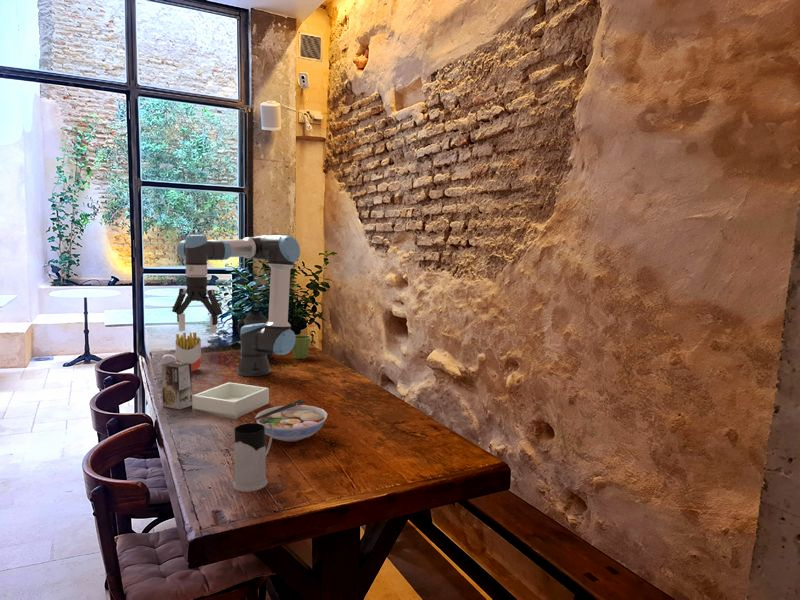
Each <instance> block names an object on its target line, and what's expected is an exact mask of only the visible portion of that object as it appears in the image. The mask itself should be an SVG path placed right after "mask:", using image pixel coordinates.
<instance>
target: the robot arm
mask: <svg viewBox="0 0 800 600" xmlns="http://www.w3.org/2000/svg"><path fill="white" fill-rule="evenodd" d="M176 248H177V249H176V250H177V254H178V256H179V257H180V258H182V259H185V275H186V277H185V286H186V288H185V287H183V288H181V287H180V288H179V289H178V294H177V298H176V300H175V302H174V305H173V308H172V309H171V311H172V312H173V313H176V322H177V323H178V332H184V331H186V313H185V311H186V309H187V308H188V307H189V305H190V304H191V303H192V302H195V301H196V302H200V303H202V304H203V305H204V307H205V308H206V310H207V311H208V313H209V314H210V316H209V334H210V335H213V334H217V325H218V324H219V323H218V317H219V316H220V315H223V310H222V308H221V306H220V303H219V302H218V299H217V297H216V292H215V289H207V288H208V287H207V286H208V277H207V276H208V261H210V260H211V261H224V260H225V261H226V260H229V259H230V258H238V257H240V258H241V257H243V258H245V259H249V260H250V259H255V260H262V261H267V265H268V267H269V268H270V281H269V283H270V284H269V304H268V322H267V323H266V324H265V323H259V324H250V325H245V324H244V326H243V327H242V328H241V334H239V336H240V352H241V355H240V359H239V363H238V365H237V370H236V371H237V375H239V376H241V377H260V376H266V375H269V374H271V369H272V368H271V365H270V361H269V360H268V359H267V353H272V355H276V356H279V355H282V356H283V355H284V356H285V355H287V354H289V353H290V352H291V351H292V349H293V347H294V344H295V339H296V337H295V335H296V334H295V331H293V330H292V329H291V327H292V325H291V323H290V322H289V321H288V320H289V302H290V284H291V283H290V280H291V269H292V268H294V266H295V262H297V261H298V260H299V258H300V255H301V247H300V244H299V242H298V240H297V239H296V238H295V237H294V236H291V235H285V234H284V235H279V234H278V235H276V234H275V235H272V234H271V235H269V234H266V235H259V236H247V237H243V238H242V239H207V236H206V235H205V234H187V235H186V236H185V239H183V240H180V242H179V243H178V245H177V247H176ZM184 299H185V300H184Z"/></svg>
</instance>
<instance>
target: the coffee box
mask: <svg viewBox="0 0 800 600" xmlns="http://www.w3.org/2000/svg"><path fill="white" fill-rule="evenodd" d="M175 361H176V360H175ZM175 361H170V362H166V363H163V364H162V365H161V366H160V369H161V371H160V372H161V388H162V389H161V392H162V407H166V408H170V409H176V410H183V409H185V408H188V407H193V406H192V395H193V389H192V388H193V385H192V371H191V364H189V363H182V362H175Z"/></svg>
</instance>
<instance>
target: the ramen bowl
mask: <svg viewBox="0 0 800 600" xmlns="http://www.w3.org/2000/svg"><path fill="white" fill-rule="evenodd" d="M305 403H306V400H302V399H297V400H295V401H292V402H291V403H288V404H286V405H278V406H273V407H270V408H266V409H264V410H262V411H260V412H258V413H257V414H256V415H255V417H254V418H252V419H250V420H248V421H247V423H251V422H252V423H253V422H254V421H256V423H258V424H262V425H265V424H266V423H270V424H272V427H273V436H272V439H274V440H278V441H282V442H286V443H293V442H299V441H302V440H304V439H306V438H310V437H311V436H313V435H314V434H316V433H317V432H319V431H320V429H321V428H322V427H323V426H324V425H325V422H326V420H327V418H328V414H329V413H328V412H326V410H324V409H323V408H320V407H317V406H312V405H306V404H305ZM265 435H267V436H268V437H270V425H269V424H268V425H267V426H266V428H265Z"/></svg>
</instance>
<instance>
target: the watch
mask: <svg viewBox="0 0 800 600" xmlns="http://www.w3.org/2000/svg"><path fill="white" fill-rule="evenodd" d="M167 357H171V358H173V359H174V360H175V362H177V361H176V356H174V355H173V354H164V355H161V357H160V358H159V361H158V363H156V364H157V365H156V366H158V367H157V368H158V370H159V371H160V372H161V365H163V364H164V362H165V360H166V358H167Z"/></svg>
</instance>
